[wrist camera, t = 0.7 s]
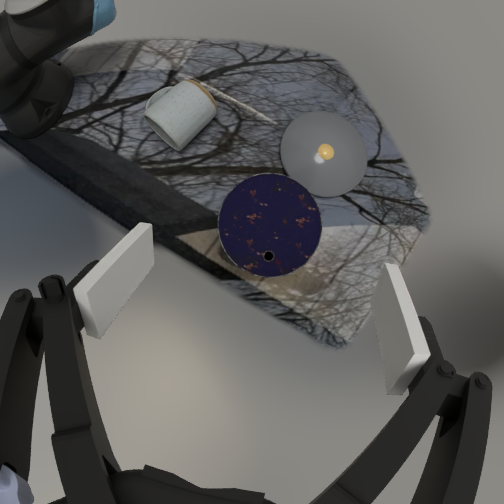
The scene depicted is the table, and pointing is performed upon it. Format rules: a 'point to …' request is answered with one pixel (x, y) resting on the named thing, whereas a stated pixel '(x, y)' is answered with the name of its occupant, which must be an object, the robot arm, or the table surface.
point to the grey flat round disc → (323, 153)
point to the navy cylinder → (269, 225)
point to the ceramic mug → (180, 112)
